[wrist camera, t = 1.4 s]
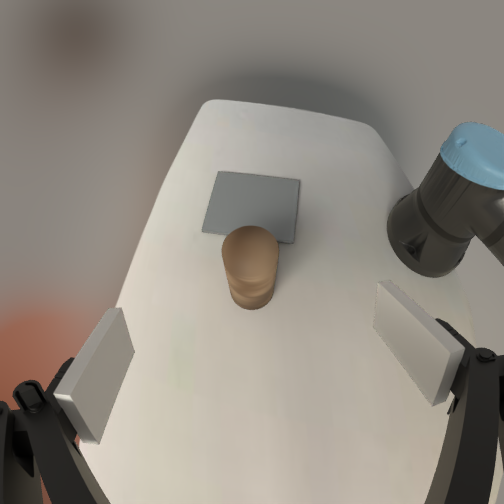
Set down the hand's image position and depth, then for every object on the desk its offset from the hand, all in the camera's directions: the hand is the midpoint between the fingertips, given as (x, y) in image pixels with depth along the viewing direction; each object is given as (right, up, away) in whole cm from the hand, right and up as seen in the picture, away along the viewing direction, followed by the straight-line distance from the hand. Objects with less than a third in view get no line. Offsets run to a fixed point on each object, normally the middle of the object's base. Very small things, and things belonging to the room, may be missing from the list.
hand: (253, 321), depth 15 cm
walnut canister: (0, -2, +28) cm, 28 cm away
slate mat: (0, +11, +35) cm, 36 cm away
